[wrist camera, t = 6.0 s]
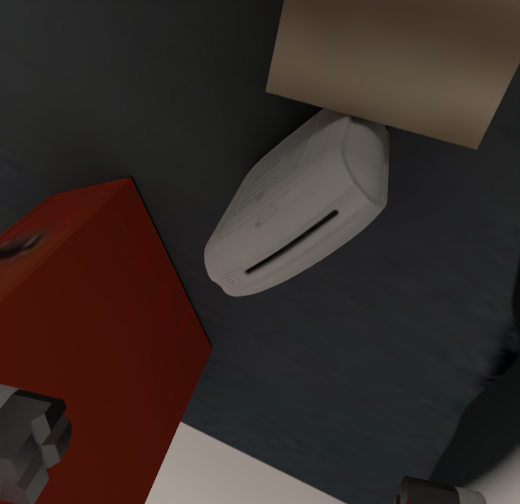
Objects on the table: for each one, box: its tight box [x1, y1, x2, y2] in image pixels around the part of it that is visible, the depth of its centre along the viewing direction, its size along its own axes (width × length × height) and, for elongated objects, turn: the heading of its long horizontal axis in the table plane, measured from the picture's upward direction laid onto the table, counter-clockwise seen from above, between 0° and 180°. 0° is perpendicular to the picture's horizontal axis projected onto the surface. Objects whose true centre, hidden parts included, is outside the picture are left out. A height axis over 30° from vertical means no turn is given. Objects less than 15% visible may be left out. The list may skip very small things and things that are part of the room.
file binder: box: [0, 178, 212, 504], centre depth 29 cm, size 8×17×32 cm, turn 18°
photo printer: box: [204, 108, 389, 296], centre depth 27 cm, size 10×4×12 cm, turn 133°
